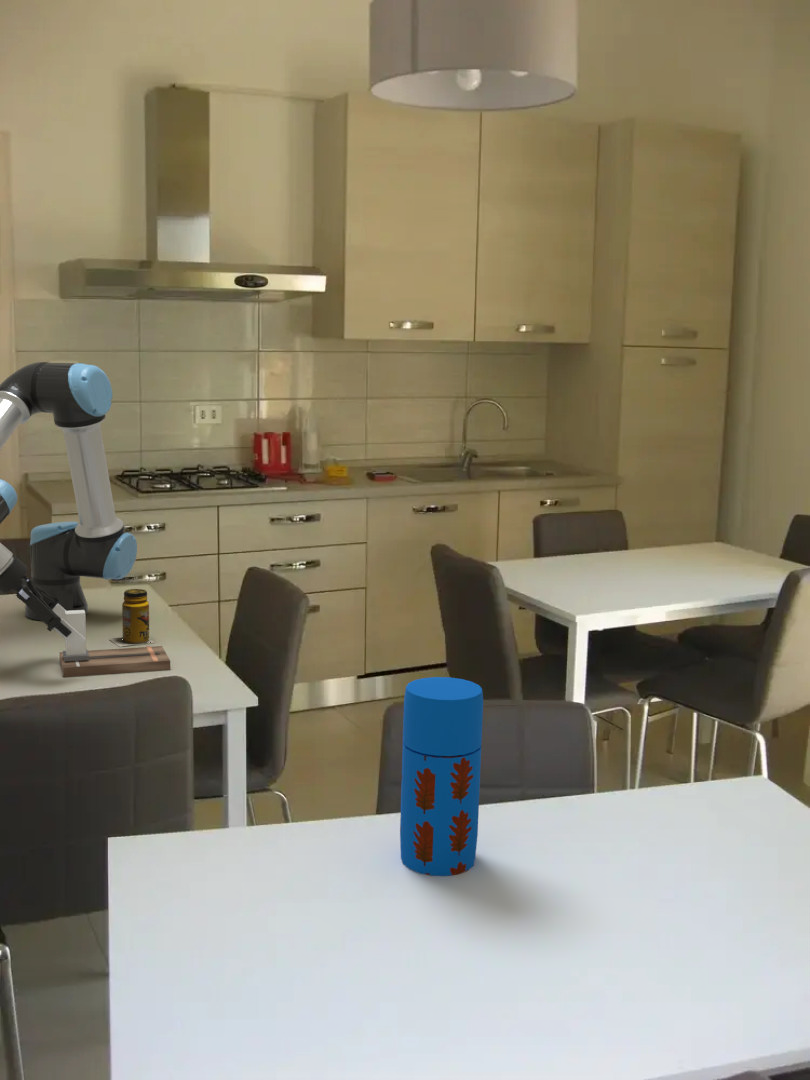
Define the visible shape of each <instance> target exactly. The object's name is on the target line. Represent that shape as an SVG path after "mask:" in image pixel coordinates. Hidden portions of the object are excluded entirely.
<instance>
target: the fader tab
mask: <svg viewBox="0 0 810 1080" xmlns="http://www.w3.org/2000/svg"><path fill="white" fill-rule="evenodd" d="M65 621H66V622H67V623H68V624H69V625H70V626H71V627H73V628H74V629H75V630H76V631H77V632H78V633H79V634H81V635H82V636H83V637H84V638H85V639H86V640H85V641H84V642H83V643H82V644H81V645H80V646H79V647H78V648H77V649H76V648H74V647H73V646H72V645H71V644H70V643H69V642H67V641H66V640H65V639H64V640H65V650H62V652H63V657H64V661H65V662H67V661H82V660H89V654H88V651H89V650H88V649H87V633H86V632H87V629H86V628H87V627H86V626H87V625H86V623H87V621H86V615H85V611H84V610H72V611H65Z"/></svg>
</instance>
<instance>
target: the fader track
mask: <svg viewBox="0 0 810 1080" xmlns="http://www.w3.org/2000/svg"><path fill="white" fill-rule="evenodd" d="M87 651H88V654H89V660H82V661H67V662H65V661H64V657H63V651H62V652H59V663H60V668H62V669H61V671H62V672H61V673H62V676H63V678H70V677H83V676H100V675H110V674H111V675H113V674H114V675H115V674H126V673H127V674H128V673H141V672H144V673H145V672H157V671H158V672H159V671H169V670H171V659H170V658H169V656H168V654H167V652H166V651H165V649H164V647H163V645H157V646H156V645H155V646H150V645H149V646H147V645H146V646H144V647H143V646H142V647H139V646H138V647H125V648H110V649H108V648H107V649H95V650H94V649H93V650H92V649H91V650H87Z"/></svg>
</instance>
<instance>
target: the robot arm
mask: <svg viewBox="0 0 810 1080" xmlns="http://www.w3.org/2000/svg"><path fill="white" fill-rule="evenodd" d="M112 399H113V389H112V385H111V382H110V379H109V377H108V376H107V374H106V373H105V371H104V370H102V369H101V368H100V367H99V366H98V365H97V366H96V365H95V364H86V363H83V362H81V363H80V362H78V363H76V362H74V363H73V362H72V363H71V362H46V361H39V362H38V361H37V362H33V363H29V364H27V365H24V366H22V367H21V368H19V369H17V370H16V371H15V372H13V373H12V374H10V375H9V376H8V377H7V378H5V380H3V381H2V382H1V383H0V451H1V449H2V448H4V446H5V444H6V443H7V442H8V440H9V439H10V437H11V436H12V435H13V434H14V432H15V431H16V429H17V428H18V426H19V425H22V424H25V423H27V422H28V421H29V419H30V418H31V416H33V415H35V414H38V413H46V414H47V413H48V414H52V416H53V423H54V426H56V428H58V429H60V430H61V431H62V433H63V438H64V444H65V448H66V449H65V450H66V454H67V461H68V467H69V470H70V471H69V473H70V475H71V481H72V488H73V492H74V499H75V504H76V509H77V514H78V520H79V522H78V521H62V522H59V521H58V522H52V523H47V524H46V523H45V524H41V525H36V526H35V527H33V528H32V529H31V532H30V543H29V547H30V569H31V570H30V572H31V573H30V574H31V579H29V577H28V576H26V575H27V573H28V570H29V567H28V566H27V565H26V564H25V563H24V562H23V561H21V559H19V558H18V557H13V556H14V555H13V552H12V551H10V550H9V548H7V547H6V546H5V545H4V544H2V543H1V542H0V594H2V595H6V594H8V593H9V592H10V591H11V590H13V591H15V593H16V594H15V596H16V597H17V599H19V600H20V601H21V602H22V603H24V604H25V606H24V613H25V617H26V618H27V619H31V620H34V621H42V622H43V623H44V624H45V625H46V626H47V628H46V629H47V630H48V631H49V632H52V630H53V631H55V632H56V633H57V634H58V635H59V636H60V637H61V638H63V639H64V640H66V641H67V642H69V643H70V644H71V645H72V646H73V647H74V648H76V649H77V648H78V647H79V646H80V645H81V644H82V643H83V642H84V641H85V640H86V641H87V638H86V639H85V638H84V637H83V636H82V635H81V634H79V633H78V632H77V631H76V630H75V629H74V628H73V627H71V626H70V625H69V624H68V623H67V622H66V621H65V611H72V610H84V611H85V616H87V615H88V614H89V612H88V611H89V610H88V608H89V607H88V602H87V599H86V595H85V594H84V590H83V588H82V585H81V577H82V578H83V577H84V578H85V577H86V578H95V579H104V580H105V581H107V580H121V579H124V578H126V577H127V576H128V575H129V574H130V572H132V569H133V567H134V564H135V563H136V562H135V561H136V559H137V554H138V542H137V539H136V537H135V536H134V534H132V533H130V532H126V529H125V525H124V522H123V520H122V519H120V518H119V517H117V516H116V510H115V505H114V499H113V492H112V487H111V482H110V481H111V480H110V475H109V470H108V463H107V458H106V457H107V456H106V450H105V446H104V441H103V434H102V428H101V425H102V424H103V423H104V421H105V420H106V414H107V413H108V412H109V411H110V410H111V407H112V401H111V400H112ZM17 503H18V495H17V492H16V490H15V488H14V487H13V486H12V485H11V484H10V483H9V482H8V481H6V480H4V479H1V478H0V525H1V524H2V523H3V522H4V520H5V519H6V518H7V517H8V516H9V515H10V514H11V512H12V510H13V508H14V507H15V506H16V505H17ZM87 613H88V614H87ZM86 614H87V615H86Z"/></svg>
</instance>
